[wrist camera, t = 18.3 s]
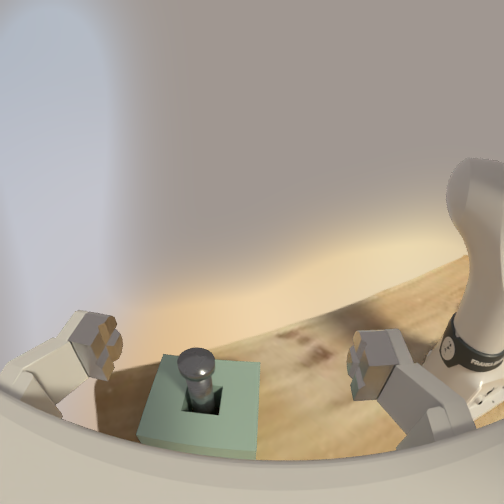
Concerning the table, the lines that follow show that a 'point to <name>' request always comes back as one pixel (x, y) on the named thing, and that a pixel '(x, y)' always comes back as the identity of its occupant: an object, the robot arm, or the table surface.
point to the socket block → (204, 425)
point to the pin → (199, 378)
